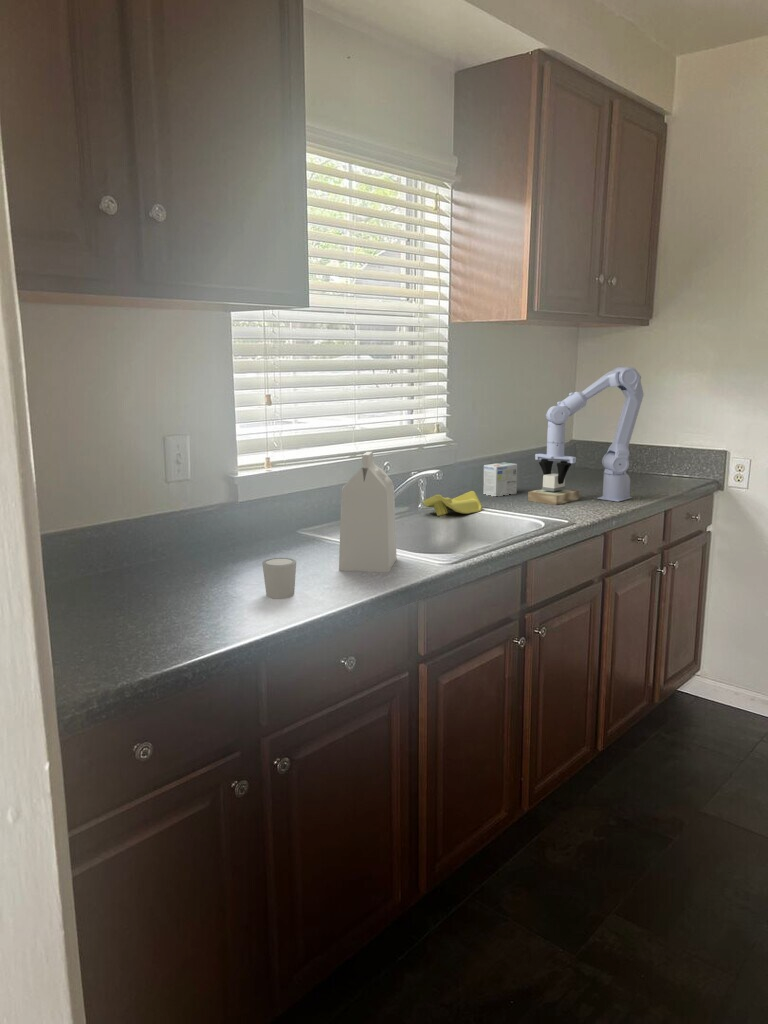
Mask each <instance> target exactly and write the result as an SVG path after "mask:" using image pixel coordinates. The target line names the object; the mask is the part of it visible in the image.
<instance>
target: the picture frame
mask: <svg viewBox="0 0 768 1024" xmlns="http://www.w3.org/2000/svg"><path fill="white" fill-rule="evenodd" d="M579 499H580V490H577V489H571V488H565V489H563V490H558V491H546V490H542V488H541V489H536V490H535V489H534V490H530V491H528V492H527V501H528V502H535V503H540V504H547V505H548V504H549V505H555V506H557V505H562V504H566V503H570V502H574V501H578V500H579Z"/></svg>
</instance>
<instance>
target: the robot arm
mask: <svg viewBox="0 0 768 1024" xmlns="http://www.w3.org/2000/svg"><path fill="white" fill-rule="evenodd" d="M641 379H642V376H641V374H640V372H638V370H637V369H636V368H634V367H631V366H626V367H625V366H618V367H615V368H614V369H613V370H610V371H608V372H607V373H605V374H603V375H602V376H601V377H599V378H598V379H597V380H595V381H594V382H593V383H591V384H590V385H589V386H588V387H586V388H585V389H584V390H582V391H575V392H570V393H568V396H567V397H565V399H562V400H561V401H557V403H556V404H557V405H553V406H551V407H549V408H548V409H547V411H546V414H545V418H546V420H547V431H546V432H547V436H546V437H547V439H546V453H535V454H534V459H535V461H538V460H539V462H538V464H539V467H540V468H541V470H542V473H543V474H542V475H546V474H552V469H553V464H554V462H556V466H557V474H558V484H563V482H564V479H565V480H566V475H567V473H568V471H569V469H570V467H571V465H572V464H576V461H577V457H576V456H570V455H565V442H566V441H565V439H566V422H567V421H568V419H569V417H571V416H572V415H574V414H576V413H577V412H578V411H580V410H581V409H583V408H585V407H586V405H587V402H588V401H589V400H590V399H591V398H593V397H594V396H596V395H598V394H600V392H602V391H604V390H605V389H608V388H610V387H611V388H612V387H614V388H615V387H617V388H619V390H620V391H621V392H622V393H623V395H624V397H625V399H624V402H623V405H622V410H621V413H620V417H619V418H618V423H617V427H616V429H615V433H614V437H613V440H612V443H611V444H610V445H609V446H608V449H607V452H606V453H605V454H604V455H603V457H602V459H601V464H602V466H603V468H604V471H603V481H602V482H603V484H602V496H599V497H597V500H602V501H611V502H622V501H626V500H629V499H632V496H630V494H631V493H630V492H631V491H630V490H631V477H630V475H629V474H628V473H627V471H628V469H629V467H630V460H629V457H630V449H629V447H630V446H629V445H630V444H631V443H630V442H631V439H632V435H633V433H634V429H635V425H636V422H637V419H638V414H639V412H640V408H641V405H642V402H643V398H644V391H643V386H642V381H641Z"/></svg>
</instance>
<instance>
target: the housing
mask: <svg viewBox="0 0 768 1024" xmlns="http://www.w3.org/2000/svg"><path fill="white" fill-rule="evenodd" d="M542 476H543V477H542V487H541V489H542V490H546V491H558V490H563V489H566V478H565V479H564V482H563V484H558V472H557V473H554V472H553V473H552V472H551V474H546V475H544V474H542Z"/></svg>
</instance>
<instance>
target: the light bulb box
mask: <svg viewBox="0 0 768 1024" xmlns="http://www.w3.org/2000/svg"><path fill="white" fill-rule="evenodd" d="M517 485H518V464H517V463H511V462H505V461H504V462H498V463H491V464H489V463H488V464H484V465H483V488H482V490H483V494H486V495H485V496H488V495H491V496H490V497H493V496H498V497H504V496H503V495H505V496H509V494H511V495H516V494H517V491H518V490H517V489H518V487H517Z"/></svg>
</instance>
